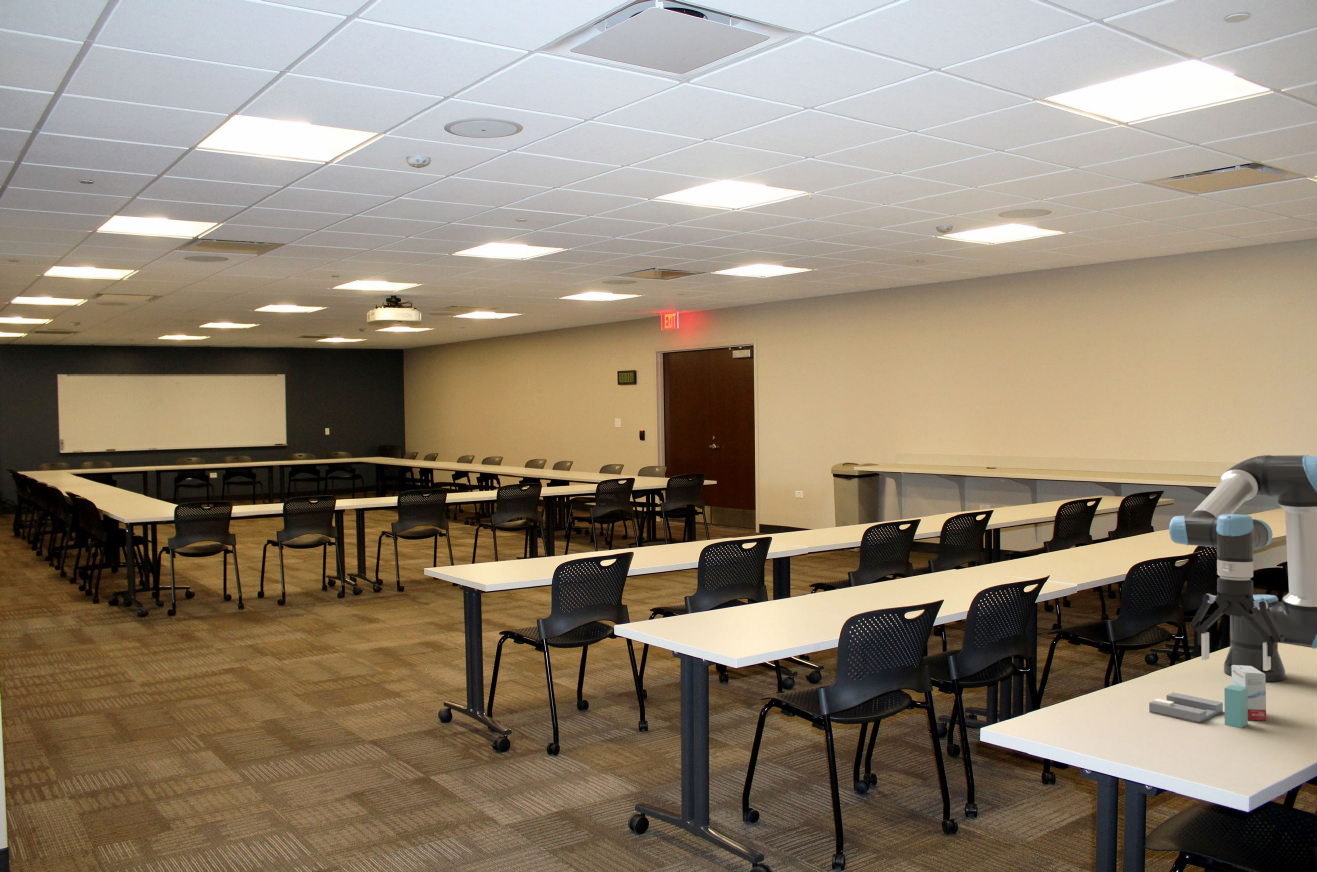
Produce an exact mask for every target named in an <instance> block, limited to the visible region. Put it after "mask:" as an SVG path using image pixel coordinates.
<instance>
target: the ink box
mask: <svg viewBox="0 0 1317 872" xmlns="http://www.w3.org/2000/svg"><path fill="white" fill-rule="evenodd" d="M1266 682H1267V681H1266V678H1265V674H1264V673H1262V672H1261V671H1259V670H1257V669H1256V668H1254V667H1252V666H1243V665H1232V676H1231V685H1237V686H1242V687H1247V688H1248V721H1267V696H1266V695H1267V691H1266V690H1267V689H1266V688H1267V687H1266V685H1267V683H1266Z"/></svg>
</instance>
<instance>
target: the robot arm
mask: <svg viewBox="0 0 1317 872" xmlns="http://www.w3.org/2000/svg"><path fill="white" fill-rule="evenodd" d="M1254 497H1274V498H1275V497H1276V498H1277V505H1278V506H1279V507H1280V508H1281V509H1283V510H1284V519H1285V522H1284V523H1285V536H1286V537H1285V539H1286V556H1287V557H1286V558H1287V576H1288V580H1287V581H1288V593H1287V594H1286V595H1284V596H1283V597H1282V601H1279V598H1278V597H1277V596H1276V595H1273V594H1272V595H1271V594H1254V581H1253V579H1251V578H1253V577H1254V551H1258V550H1261V549H1263V548H1265V547H1266V546H1268V545H1270V543H1271V542H1272V539H1273V535H1274V534H1273V529H1272V528H1271V526H1270V525H1269V523H1267V522H1266V521H1263V520H1262V519H1256V518H1255V519H1254V518H1253V517H1252V516H1251V515H1250V514H1249V515H1248V514H1240V513H1239V514H1238V513H1237V514H1236V513H1235V512H1236V511H1237V510H1239V508H1240V507H1241V506H1242V504H1243V503H1245V502H1246V501H1250V500H1251V499H1253V498H1254ZM1168 532H1169V538H1170V539H1171V541H1172V542H1173V543H1175V544H1179V545H1186V546H1196V547H1199V546H1200V547H1212V548H1216V559H1217V560H1216V569H1217V570H1216V575H1218V576H1219V577H1217V579H1216V582H1217V583H1216V584H1217V585H1216V591H1217V594H1216V595H1213V594H1211V593H1205V594H1203V596H1202V602H1201V604H1200V606H1199V608H1197V611H1196V612H1195V615H1194V616H1193V619H1192V620H1191V622H1190V623H1189V625H1188V628H1189V629H1190V630H1193V631H1196V633H1197V634H1196V635H1197V645H1198V646H1201V651H1200V652H1201V660H1203V661H1206V660H1209V659H1210V632H1208V631H1207V630H1208V629H1209V628H1210V627H1211V626H1212V625H1214V624H1215V623H1216V621H1217V620H1219V619H1220V617H1222V616H1223V615H1226V616H1229V618H1230V619H1229V622H1230V625H1229V626H1230V627H1229V628H1230V634H1229V635H1230V647H1229V649H1228V652H1227V655H1226V657H1225V659H1224V663H1223V673H1225V674H1226V675H1228V676H1230V677H1232V665H1243V666H1252V667H1254V668H1256V669H1257V670H1259V671H1261V672H1262V673H1264V674H1265V678H1266V682H1280V681H1284V680H1285V679H1286V669H1285V666H1284V664H1283V661H1282V658H1281V656H1280V653H1279V647H1278V646H1279V645H1278V644H1284V645H1291V646H1299V647H1304V648H1311V649H1314V650H1315V649H1317V456H1316V455H1309V454H1305V455H1302V454H1301V455H1300V454H1299V455H1288V454H1287V455H1271V454H1270V455H1269V454H1268V455H1265V454H1264V455H1258V456H1253V457H1250V458H1247V459H1245V460H1243V461H1240V462H1238V463H1236V464H1235V465H1233V466H1231V467H1230V468H1229V469H1227V470H1226V471H1225V472H1224V473H1222V475H1221V477H1220V479H1219V484H1217V486H1215V488H1214V489H1213V490H1212V491H1211V492H1210V493H1209V495H1207V496H1206V497H1205V498H1204V499H1203V501H1201V503H1200V504H1199V505H1197V507H1196V508H1195V509H1194V510H1193V511H1192V512H1191V513H1190V514H1189V515H1175V516H1173V517H1172V518H1171V519H1170V522H1169V527H1168ZM1214 603H1216V604H1217V605H1218V608H1217V609H1216V610H1214V611H1213V613H1212V614H1211V615H1210V616H1209V617H1208V618H1206V620H1205V621H1204V622H1202V620H1203V618H1204V617H1205V615H1206V613H1207V612H1208V610H1209V609H1210V607H1211V604H1214ZM1201 622H1202V623H1201Z"/></svg>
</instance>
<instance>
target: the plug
mask: <svg viewBox="0 0 1317 872" xmlns="http://www.w3.org/2000/svg"><path fill="white" fill-rule="evenodd" d="M1223 689H1224V693H1223V694H1224V725H1226V726H1230V727H1233V728H1239V729H1242V728H1243V727H1245V726H1247V725H1248V724H1249V720H1248V688H1247V687H1242V686H1237V685H1232V684H1230V685H1227V686H1226V687H1224V688H1223Z"/></svg>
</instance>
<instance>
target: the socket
mask: <svg viewBox="0 0 1317 872" xmlns="http://www.w3.org/2000/svg"><path fill="white" fill-rule="evenodd" d="M1223 702H1224V701H1218V700H1212V699H1207V698H1202V697H1198V696H1194V695H1193V696H1192V695H1189V694H1182V693H1177V692H1175V691H1174V692H1171V693H1169V694H1166V699H1162V698H1156V699H1154V700H1152V701H1150V702H1148V708H1149V709H1148V710H1149V713H1152V714H1156V715H1161V716H1166V717H1170V718H1174V719H1179V720H1182V721H1183V720H1184V721H1189V722H1192V723H1197V724H1201V723H1203V722H1205V721H1207V720H1209V719H1211V718H1214V717H1215V716H1217V715H1219V714H1221V713H1223V712H1224V711H1223V710H1224V708H1223V707H1224V703H1223Z"/></svg>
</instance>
